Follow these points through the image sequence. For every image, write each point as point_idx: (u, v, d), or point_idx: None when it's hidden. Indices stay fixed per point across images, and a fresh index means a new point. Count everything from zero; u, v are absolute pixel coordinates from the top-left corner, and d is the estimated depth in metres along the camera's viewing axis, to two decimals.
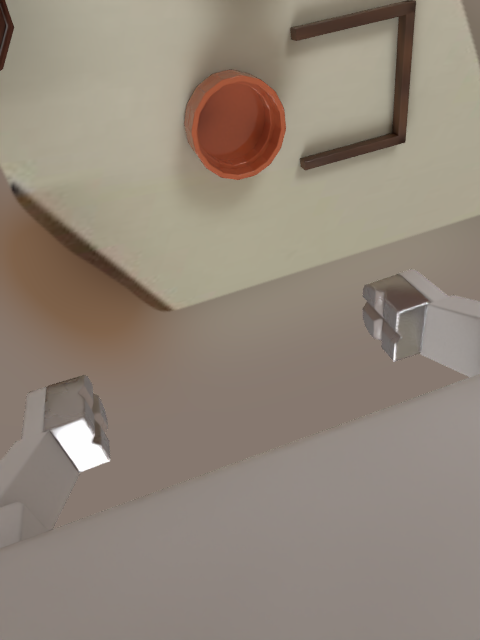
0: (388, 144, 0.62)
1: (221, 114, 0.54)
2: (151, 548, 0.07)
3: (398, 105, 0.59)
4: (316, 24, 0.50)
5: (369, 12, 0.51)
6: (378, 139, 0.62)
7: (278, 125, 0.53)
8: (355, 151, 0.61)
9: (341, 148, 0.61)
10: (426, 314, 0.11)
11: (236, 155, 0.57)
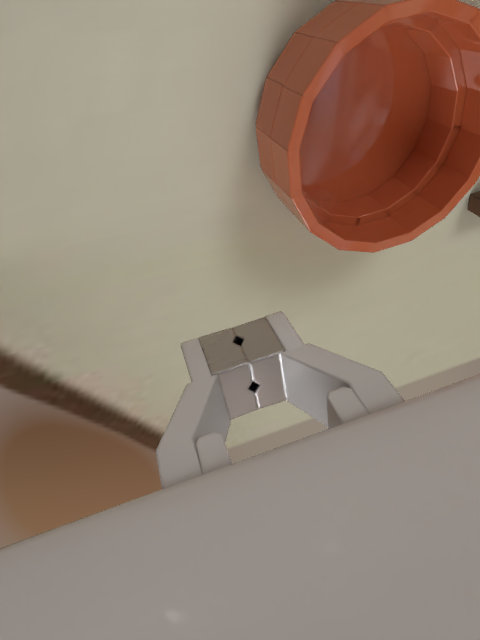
0: None
1: (339, 103, 0.23)
2: (151, 548, 0.07)
3: None
4: None
5: None
6: None
7: (478, 130, 0.23)
8: None
9: None
10: (281, 363, 0.11)
11: (356, 192, 0.27)
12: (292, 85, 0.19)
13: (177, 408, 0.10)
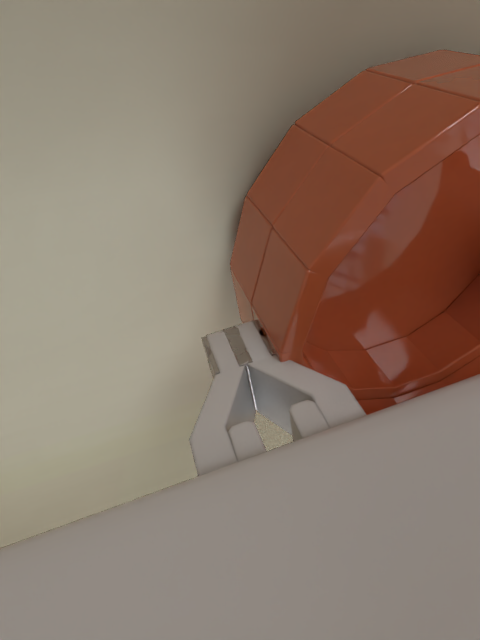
0: None
1: None
2: (151, 548, 0.07)
3: None
4: None
5: None
6: None
7: None
8: None
9: None
10: (249, 374, 0.11)
11: (389, 335, 0.18)
12: (289, 235, 0.10)
13: (207, 398, 0.10)
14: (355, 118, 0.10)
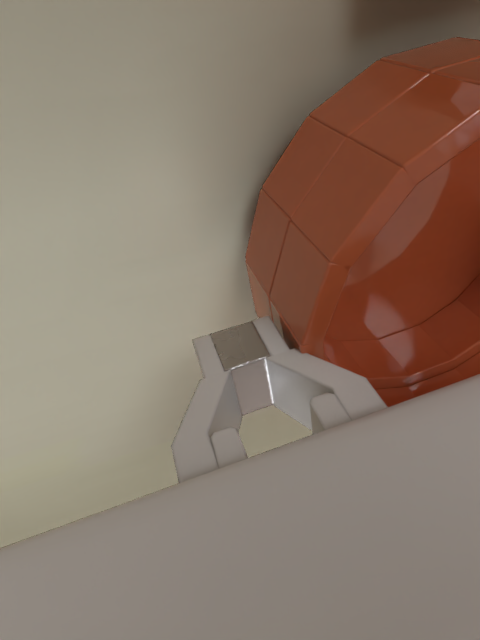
0: None
1: None
2: (151, 548, 0.07)
3: None
4: None
5: None
6: None
7: None
8: None
9: None
10: (267, 368, 0.11)
11: (401, 324, 0.18)
12: (308, 228, 0.10)
13: (191, 403, 0.10)
14: (372, 109, 0.10)
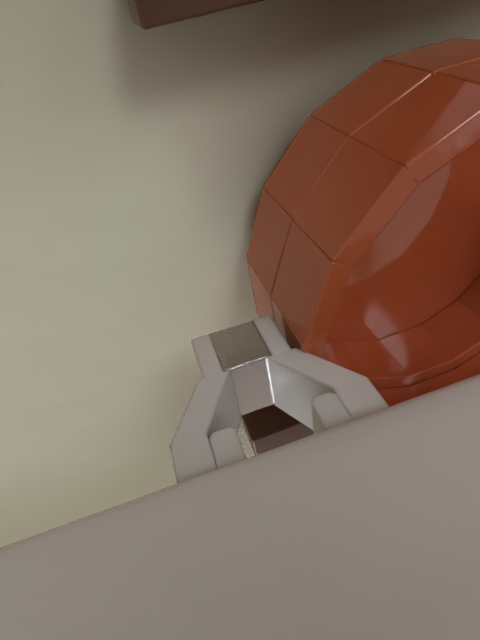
0: None
1: None
2: (151, 548, 0.07)
3: None
4: None
5: None
6: None
7: None
8: None
9: None
10: (268, 367, 0.11)
11: (402, 324, 0.18)
12: (310, 227, 0.10)
13: (190, 404, 0.10)
14: (374, 108, 0.10)
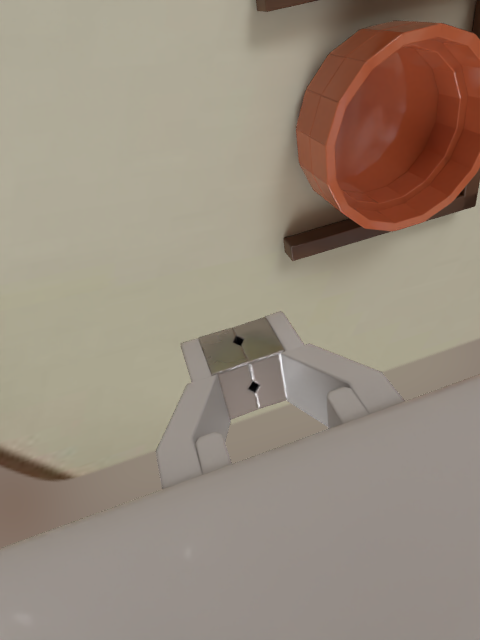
0: (446, 210, 0.34)
1: (363, 110, 0.29)
2: (151, 548, 0.07)
3: None
4: None
5: None
6: None
7: (478, 129, 0.28)
8: None
9: None
10: (281, 363, 0.11)
11: (376, 184, 0.32)
12: (329, 94, 0.24)
13: (177, 408, 0.10)
14: (356, 46, 0.24)
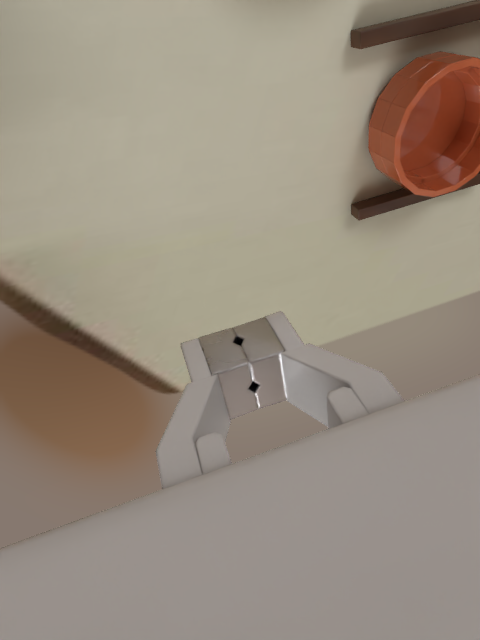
0: (468, 183, 0.46)
1: (414, 111, 0.41)
2: (151, 548, 0.07)
3: None
4: (389, 25, 0.35)
5: (463, 8, 0.36)
6: None
7: None
8: None
9: (405, 190, 0.46)
10: (281, 363, 0.11)
11: (419, 164, 0.45)
12: (398, 103, 0.37)
13: (177, 408, 0.10)
14: (416, 70, 0.37)
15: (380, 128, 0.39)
